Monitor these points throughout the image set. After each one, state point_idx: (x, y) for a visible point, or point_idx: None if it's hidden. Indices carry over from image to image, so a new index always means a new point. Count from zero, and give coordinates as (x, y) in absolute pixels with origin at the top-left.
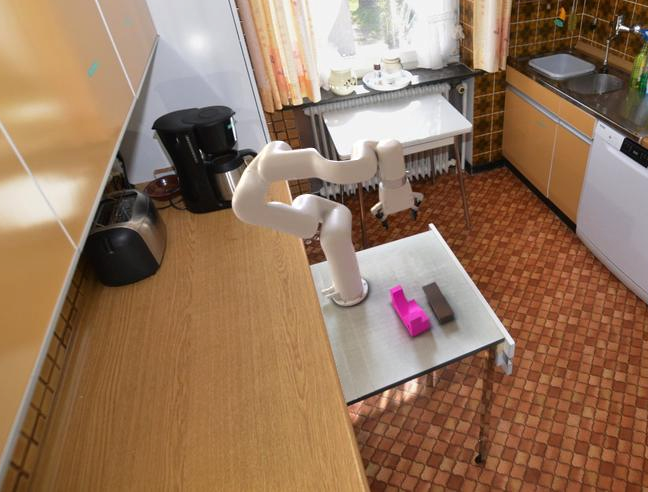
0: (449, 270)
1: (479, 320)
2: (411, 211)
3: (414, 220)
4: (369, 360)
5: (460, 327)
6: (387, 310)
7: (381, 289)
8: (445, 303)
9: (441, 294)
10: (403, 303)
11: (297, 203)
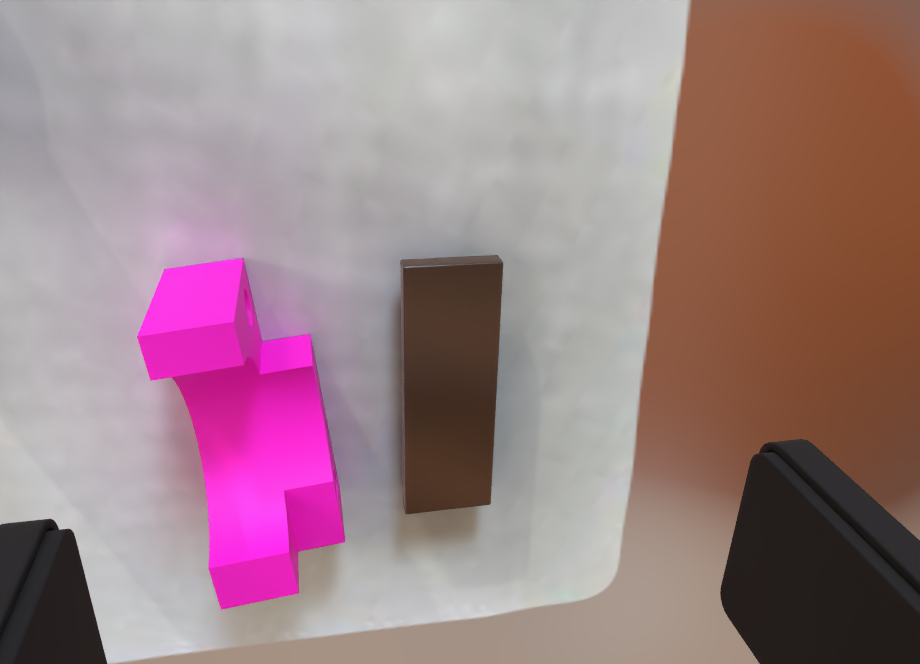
0: (636, 150)
1: (580, 520)
2: (848, 596)
3: (721, 594)
4: None
5: (482, 527)
6: (118, 301)
7: (103, 95)
8: (480, 438)
9: (489, 373)
10: (228, 378)
11: None
